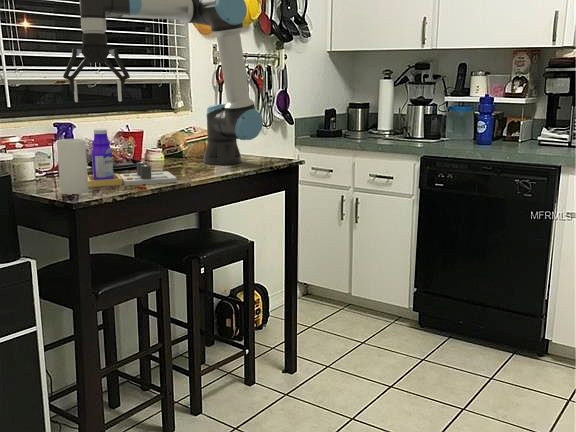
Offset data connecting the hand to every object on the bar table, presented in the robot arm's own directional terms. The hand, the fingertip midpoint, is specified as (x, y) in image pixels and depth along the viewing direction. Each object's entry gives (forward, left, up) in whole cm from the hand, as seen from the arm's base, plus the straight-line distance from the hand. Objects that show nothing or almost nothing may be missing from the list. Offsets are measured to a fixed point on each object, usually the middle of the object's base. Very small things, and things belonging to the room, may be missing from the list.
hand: (98, 101), depth 201 cm
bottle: (0, 0, -26) cm, 27 cm away
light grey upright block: (+10, +12, -27) cm, 31 cm away
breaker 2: (-13, +4, -25) cm, 29 cm away
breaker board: (-15, 0, -27) cm, 30 cm away
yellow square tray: (0, 0, -27) cm, 27 cm away
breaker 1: (-13, -3, -25) cm, 28 cm away
